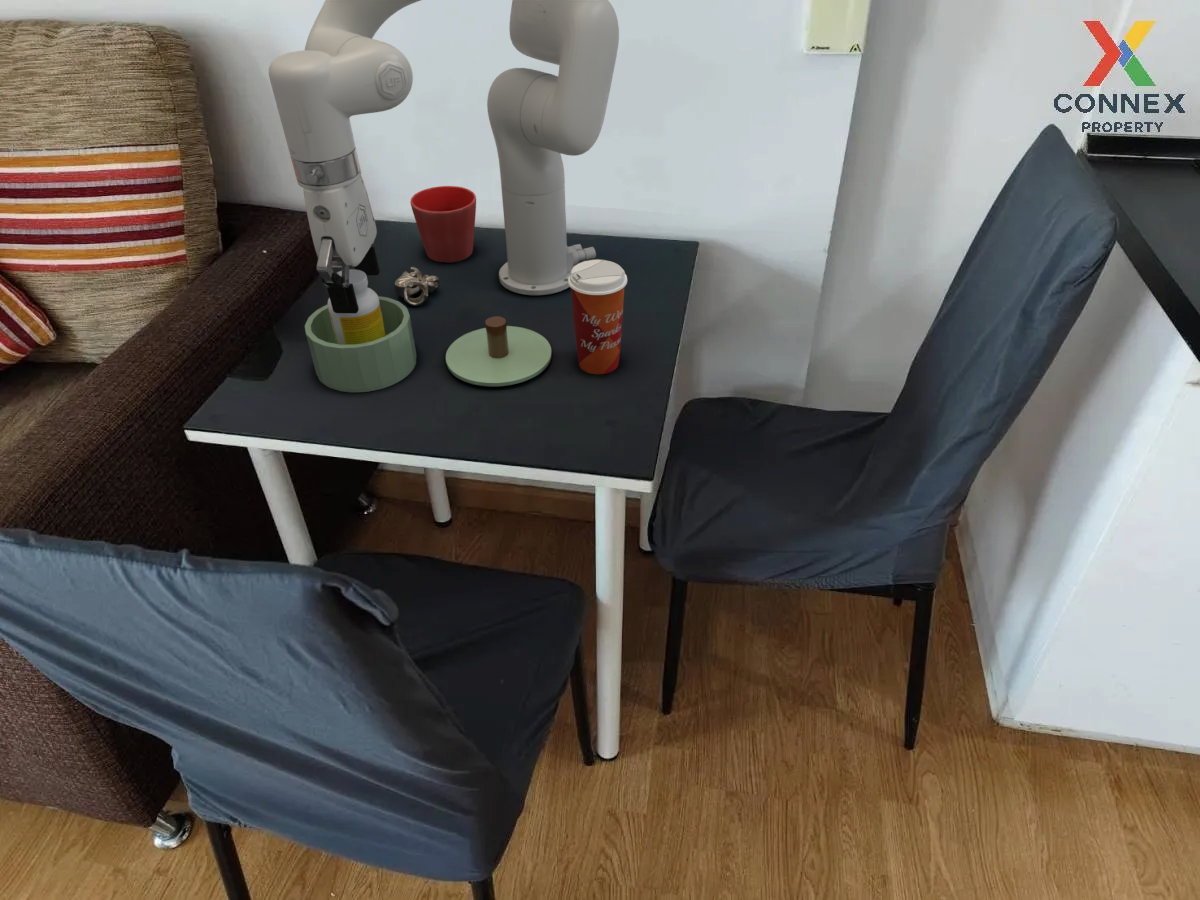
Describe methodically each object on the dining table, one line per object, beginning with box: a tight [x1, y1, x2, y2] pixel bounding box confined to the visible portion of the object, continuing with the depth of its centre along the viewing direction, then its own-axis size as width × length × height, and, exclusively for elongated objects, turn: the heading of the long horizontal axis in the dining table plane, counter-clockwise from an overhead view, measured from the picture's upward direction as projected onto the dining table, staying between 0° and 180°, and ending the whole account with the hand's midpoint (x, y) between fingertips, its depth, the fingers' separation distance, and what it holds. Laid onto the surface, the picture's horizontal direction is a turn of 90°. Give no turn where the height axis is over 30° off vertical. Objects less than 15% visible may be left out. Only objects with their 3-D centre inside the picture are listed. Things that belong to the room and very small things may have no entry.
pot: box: [304, 295, 417, 393], centre depth 117 cm, size 14×14×7 cm
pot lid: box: [445, 315, 552, 387], centre depth 118 cm, size 15×15×6 cm
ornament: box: [394, 266, 441, 307], centre depth 133 cm, size 8×7×4 cm
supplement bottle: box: [327, 268, 386, 345], centre depth 115 cm, size 7×7×13 cm
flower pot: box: [410, 185, 477, 264], centre depth 143 cm, size 11×11×10 cm
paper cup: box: [568, 259, 628, 375], centre depth 115 cm, size 8×8×14 cm
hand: (357, 292), depth 113 cm, fingers open, 9 cm apart
